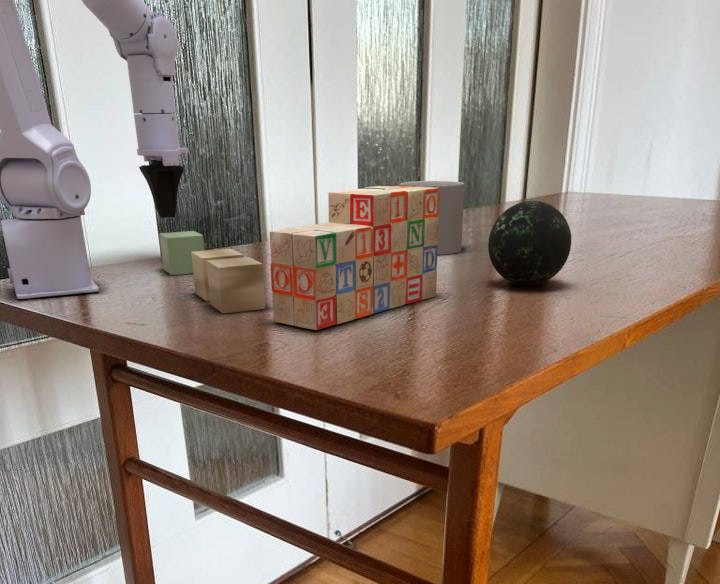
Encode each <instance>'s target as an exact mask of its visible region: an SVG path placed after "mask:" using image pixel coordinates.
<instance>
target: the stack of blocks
mask: <svg viewBox="0 0 720 584" xmlns="http://www.w3.org/2000/svg"><path fill="white" fill-rule="evenodd" d="M327 196H328V200H327V201H328V221H327V222H322V223H315V224H308V225H300V226H294V227H288V228H281V229H275V230H274V229H273V230H269V248H270V264H269V265H270V282H271V283H270V284H271V291H272V294H271V296H272V297H271V298H272V311H273V313H272V314H273V322H275V323H279V324H285V325H289V326H294V327H298V328H304V329H309V330H313V331H318V330H322V329H325V328H328V327H332V326H334V325H341V324H344V323H347V322H350V321H354V320H358V319H360V318H364V317H368V316H372V315H374V314H377V313H381V312H385V311H388V310H391V309H395V308H398V307H402V306H405V305H409V304H412V303H416V302H420V301H424V300H427V299H431V298H435V297H436V296H437V282H438V281H437V280H438V270H437V268H438V255H437V249H438V236H439V216H438V214H439V188H433V187H411V186H400V185H393V186H392V185H375V186H365V187H364V188H356V189H355V188H354V189H347V190H338V191H337V190H336V191H329V192H327Z"/></svg>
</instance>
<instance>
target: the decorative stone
mask: <svg viewBox="0 0 720 584" xmlns="http://www.w3.org/2000/svg"><path fill="white" fill-rule="evenodd" d="M487 243H488V244H487V250H488V251H487V252H488V257H489V259H490V262H491V265H492V266H493V268H494V270H495V271H496V272H497V274H498V275H499V276H500V277H501V278H502V279H504V280H505V281H507V282H508V283H511V284H514V285H517V286H519V287H520V286H521V287H535V286H539V285H542V284H544V283H547V282H548V281H550V280H551V279H552V278H554V277H555V276H556V275H557V274H558V273H559V272H560V271H562V269H563V267H564V266H565V265H566V263H567V261H568V259H569V256H570V253H571V248H572V231H571V228H570V225H569V223H568V221H567V219H566V217H565V216H564V214H562V212H561V211H560V210H558V209H557V208H556V207H555V206H553V205H552V204H550V203H547V202H545V201H540V200H527V201H521V202H518V203H516V204H513V205H512V206H510V207H508V208H507V209H506V210H505V211H503V212H502V213H501V214H500V215H499V216H498V217H497V219H496V220H495V222H494V223H493V225H492V226H491V230H490V232H489V235H488V241H487Z"/></svg>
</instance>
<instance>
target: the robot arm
mask: <svg viewBox="0 0 720 584" xmlns="http://www.w3.org/2000/svg"><path fill="white" fill-rule="evenodd" d="M81 3H82V4H83V5H84V6H85V7H86V8H87V9H88V10H89V11H90V12H91V13H92V14H93V15H94V17H96V18H97V19H98V21H99V22H101V24H102V25H103V26H104V27H105V28H106V29H107V31H108V33H109V36H110V37H111V38H112V40H113V43H114V47H115V49H116V52H117V54H118V55H119V57H120V58H121V59H123V60H124V61H126V63H127V72H128V80H129V87H130V96H131V103H132V109H133V118H134V125H135V134H136V142H137V149H136V154H137V156H139V157H143V162H150V163H149V164H144V165H143V164H142V165H140V166H139V167H138V168H139V171H140V173H141V174H142V175H143V178H144V179H145V182H146V183H147V185H148V189H149V190H150V193H151V197H152V199H153V203H154V206H155V209H156V212H157V215H158V217H159V218H160V219H167V218H168V219H169V218H175V217H176V213H177V204H178V191H179V185H180V181H181V179H182V176H183V173H184V169H185V167H184V166H183V165H181V163H180V158H179V156H180V155H181V156H182V154H189V147H180V138H179V137H180V136H179V130H178V129H179V128H178V121H177V111H176V100H175V90H174V82H173V81H174V80H173V77H174V76H175V72H176V57H177V54H178V50H179V38H178V37H176V31H175V28H174V25H172V22H171V21H170V20H169V19H168V17H165V16H164V15H163V14H162V13H160V12H157V11H154V12H153V11H152V10H151V9H150V8H149V6H148V5H147V4H146V3H145V1H144V0H81ZM0 131H1V135H0V199H1V200H2V201H3V203H4V204H5V205H6V206H7V207H8V208H10V209H11V212H12V216H13V217H16V218H13V219H12V218H11V219H2V220H0V225H1V230H2V235H3V240H4V245H5V249H6V255H7V260H8V264H9V268H7V274H8V278H9V282H10V284H11V285H12V284H13V290H14V292H15V295H16V299H19V300H24V299H37V298H44V297H45V298H46V297H55V296H66V295H76V294H77V295H78V294H86V293H96V292H99V291H100V287H99V286H98V285H97V283H96V282H95V281H94V280H93V279H92V277H91V276H92V275H91V271H90V264H89V258H88V251H87V246H86V239H85V233H84V228H83V221H82V216H85V215H86V212H85V209H86V208H87V206H88V205H89V202H90V199H91V195H92V184H91V180H90V176H89V174H88V171H87V169H86V167H85V166H84V165H83V163H82V162H81V161H80V159H79V158H78V155H77V153H76V149H75V146H74V143H73V142H72V141H71V140H70V139H68V138H67V136H65V135H64V133H62V132H61V131H59V130H58V129H57V128H56V127H54V125H53V124H52V121H51V118H50V115H49V112H48V108H47V105H46V102H45V98H44V95H43V91H42V88H41V86H40V82H39V79H38V75H37V73H36V69H35V66H34V63H33V60H32V57H31V53H30V49H29V47H28V43H27V39H26V37H25V33H24V30H23V27H22V24H21V21H20V16H19V14H18V11H17V7H16V4H15V1H14V0H0Z"/></svg>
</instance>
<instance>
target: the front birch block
mask: <svg viewBox="0 0 720 584" xmlns="http://www.w3.org/2000/svg"><path fill="white" fill-rule="evenodd" d="M206 262H207V273H208V283H209V293H210V301H209V303H210V306H212V307H213V308H214V309H215V310H217V311H218V312H219V313H220V314H223V315H224V314H225V315H226V314H232V313H242V312H251V311H258V310H266V295H265V294H266V293H265V282H264V281H265V280H264V279H265V278H264V265H263V263H262V262H260V261H258V260H256V259H254V258H252V257H250V256H244V257H242V258H230V259H219V260H207V261H206Z"/></svg>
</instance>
